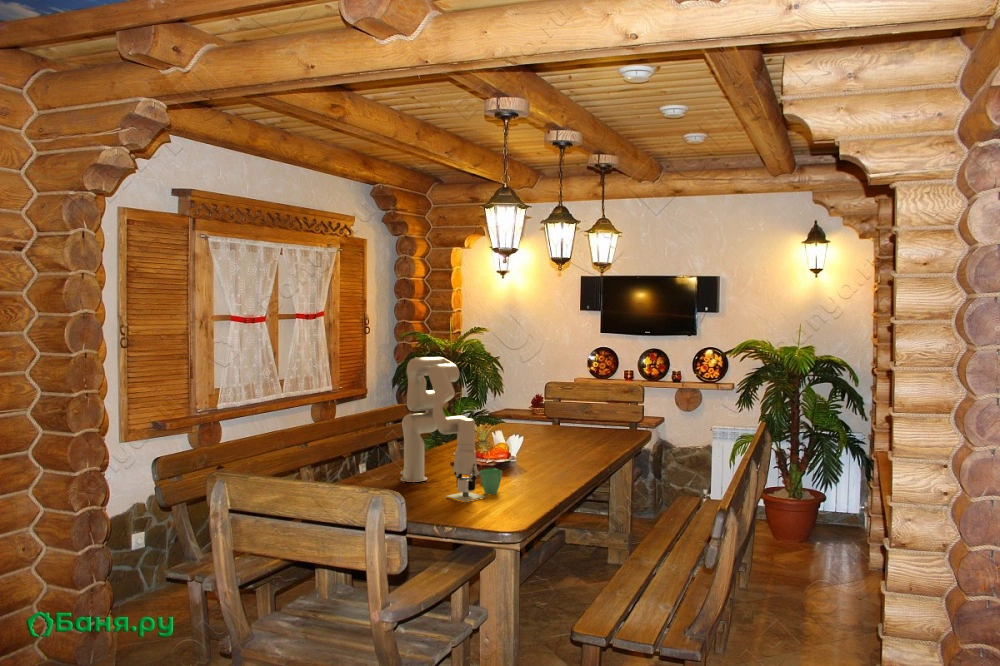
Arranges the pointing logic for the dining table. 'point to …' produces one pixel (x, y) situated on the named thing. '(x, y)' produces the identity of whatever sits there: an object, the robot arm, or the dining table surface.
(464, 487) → the white hollow cylinder
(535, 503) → the dining table surface
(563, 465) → the dining table surface
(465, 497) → the square base peg stand
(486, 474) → the mug
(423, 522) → the dining table surface
